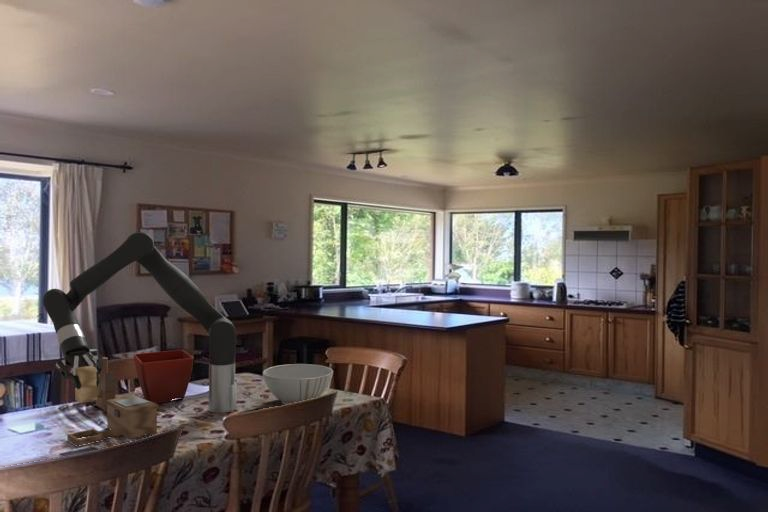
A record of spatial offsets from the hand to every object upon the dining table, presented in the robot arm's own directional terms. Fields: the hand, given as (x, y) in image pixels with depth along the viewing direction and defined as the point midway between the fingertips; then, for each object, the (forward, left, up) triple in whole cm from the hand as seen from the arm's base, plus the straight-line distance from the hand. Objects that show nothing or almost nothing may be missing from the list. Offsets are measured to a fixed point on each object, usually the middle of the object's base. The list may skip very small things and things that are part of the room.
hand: (88, 386), depth 187 cm
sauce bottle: (+21, -45, -18) cm, 53 cm away
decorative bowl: (-57, -49, -18) cm, 77 cm away
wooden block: (+12, -37, -18) cm, 43 cm away
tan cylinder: (+1, -1, -5) cm, 5 cm away
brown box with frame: (-4, -7, -17) cm, 19 cm away
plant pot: (-4, -51, -18) cm, 54 cm away
